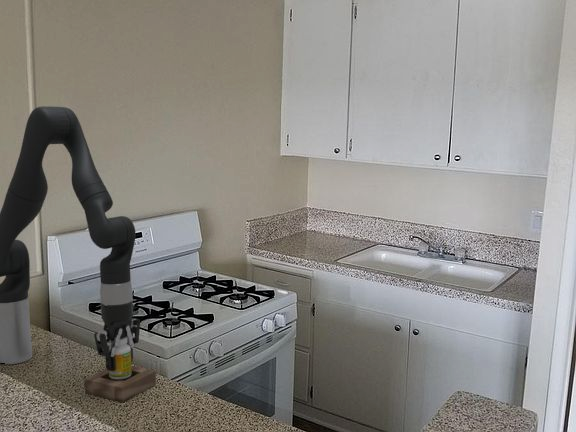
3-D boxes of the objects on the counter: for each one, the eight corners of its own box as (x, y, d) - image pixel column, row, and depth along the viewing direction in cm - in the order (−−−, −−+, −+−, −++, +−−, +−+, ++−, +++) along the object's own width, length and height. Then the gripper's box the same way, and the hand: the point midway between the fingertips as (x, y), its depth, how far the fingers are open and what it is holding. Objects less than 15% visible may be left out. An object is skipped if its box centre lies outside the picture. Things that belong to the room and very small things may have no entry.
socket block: (85, 393, 162) (84, 379, 161) (119, 376, 172) (118, 363, 172) (123, 402, 156) (122, 388, 156) (155, 384, 167) (155, 370, 166)
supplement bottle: (126, 380, 160) (124, 342, 159) (105, 379, 162) (103, 340, 160) (135, 372, 166) (133, 334, 164) (115, 371, 167) (113, 333, 165)
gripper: (125, 290, 169) (128, 354, 171) (83, 304, 156) (87, 373, 159) (148, 294, 165) (151, 359, 168) (107, 308, 153) (110, 379, 155)
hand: (119, 366), depth 163 cm, fingers closed on supplement bottle, 5 cm apart
